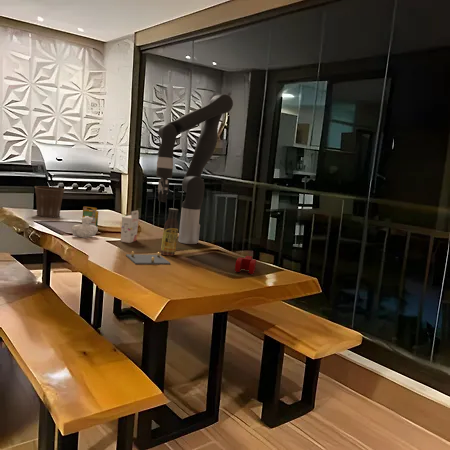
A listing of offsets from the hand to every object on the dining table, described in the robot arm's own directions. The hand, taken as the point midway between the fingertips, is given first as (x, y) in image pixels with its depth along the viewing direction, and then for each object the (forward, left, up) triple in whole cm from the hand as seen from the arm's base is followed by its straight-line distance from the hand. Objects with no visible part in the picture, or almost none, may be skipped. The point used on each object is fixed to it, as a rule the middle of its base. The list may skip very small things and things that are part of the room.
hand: (162, 201), depth 220 cm
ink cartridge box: (+14, -3, -20) cm, 25 cm away
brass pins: (+16, +37, -19) cm, 45 cm away
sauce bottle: (+4, +25, -20) cm, 33 cm away
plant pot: (+43, -71, -20) cm, 85 cm away
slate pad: (+16, +35, -20) cm, 44 cm away
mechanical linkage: (-20, +51, -20) cm, 59 cm away
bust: (+33, -9, -20) cm, 40 cm away
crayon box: (+27, -31, -20) cm, 46 cm away
